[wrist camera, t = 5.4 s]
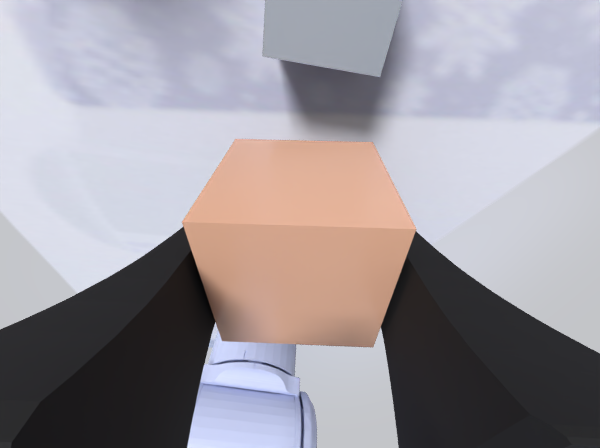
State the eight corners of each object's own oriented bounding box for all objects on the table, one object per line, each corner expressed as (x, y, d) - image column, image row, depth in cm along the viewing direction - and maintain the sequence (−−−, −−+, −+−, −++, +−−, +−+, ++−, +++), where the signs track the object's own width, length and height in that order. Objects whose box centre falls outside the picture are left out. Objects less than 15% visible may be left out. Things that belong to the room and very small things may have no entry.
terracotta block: (354, 244, 13) (373, 347, 9) (250, 241, 13) (222, 341, 9) (372, 142, 9) (416, 229, 6) (235, 139, 10) (182, 222, 6)
